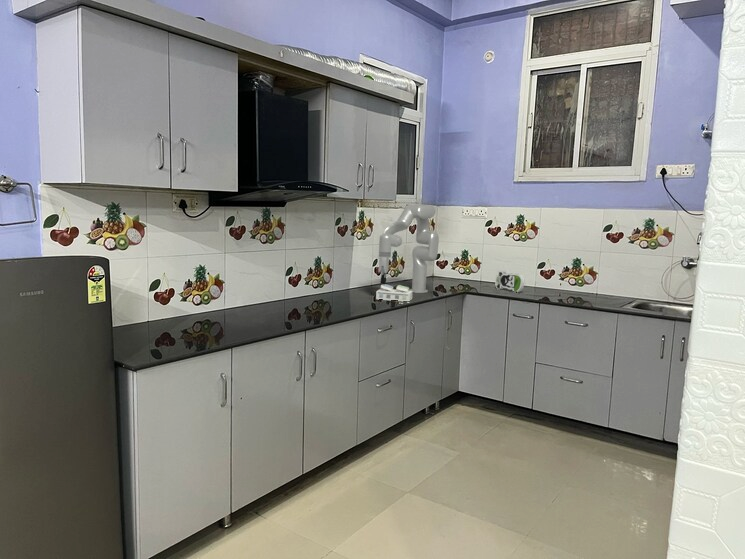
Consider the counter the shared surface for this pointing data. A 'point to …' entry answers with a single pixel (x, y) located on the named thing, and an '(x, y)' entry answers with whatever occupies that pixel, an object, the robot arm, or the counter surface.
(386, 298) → the switch box
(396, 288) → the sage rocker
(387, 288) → the slate rocker
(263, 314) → the counter surface
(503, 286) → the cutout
